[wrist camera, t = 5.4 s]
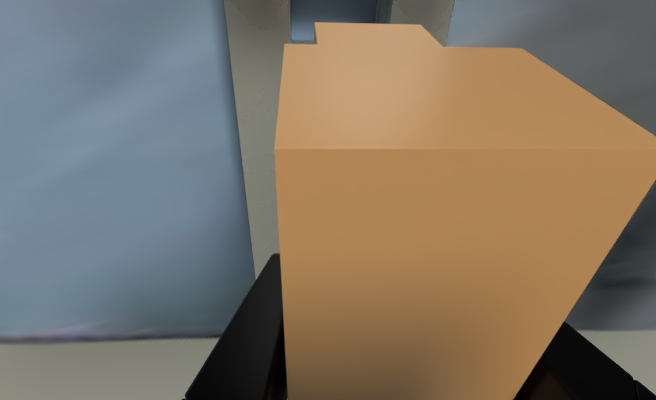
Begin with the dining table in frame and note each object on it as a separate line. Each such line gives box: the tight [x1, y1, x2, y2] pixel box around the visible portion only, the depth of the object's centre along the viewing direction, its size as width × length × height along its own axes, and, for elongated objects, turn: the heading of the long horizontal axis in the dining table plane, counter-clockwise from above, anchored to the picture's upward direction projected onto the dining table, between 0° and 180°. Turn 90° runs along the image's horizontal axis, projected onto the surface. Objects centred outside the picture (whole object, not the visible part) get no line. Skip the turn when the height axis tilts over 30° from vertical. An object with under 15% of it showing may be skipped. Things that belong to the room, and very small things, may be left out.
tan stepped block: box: [274, 22, 656, 400], centre depth 9 cm, size 4×9×6 cm, turn 178°
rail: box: [224, 0, 455, 279], centre depth 17 cm, size 8×24×3 cm, turn 178°
